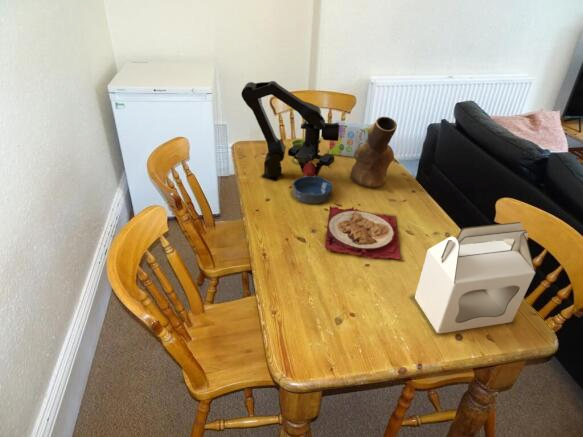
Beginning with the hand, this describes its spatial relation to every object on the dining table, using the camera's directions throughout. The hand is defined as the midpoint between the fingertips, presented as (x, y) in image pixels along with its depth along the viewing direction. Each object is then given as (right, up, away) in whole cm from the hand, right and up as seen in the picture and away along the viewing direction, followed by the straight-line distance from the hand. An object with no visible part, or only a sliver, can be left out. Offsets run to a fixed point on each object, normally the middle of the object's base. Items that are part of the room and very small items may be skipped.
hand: (309, 174), depth 170 cm
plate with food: (+16, -24, -30) cm, 42 cm away
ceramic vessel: (+25, -4, -1) cm, 25 cm away
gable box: (+39, -43, -59) cm, 83 cm away
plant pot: (-3, +7, +14) cm, 16 cm away
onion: (0, -2, +1) cm, 2 cm away
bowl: (0, -9, -10) cm, 13 cm away
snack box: (+20, +11, +22) cm, 32 cm away
